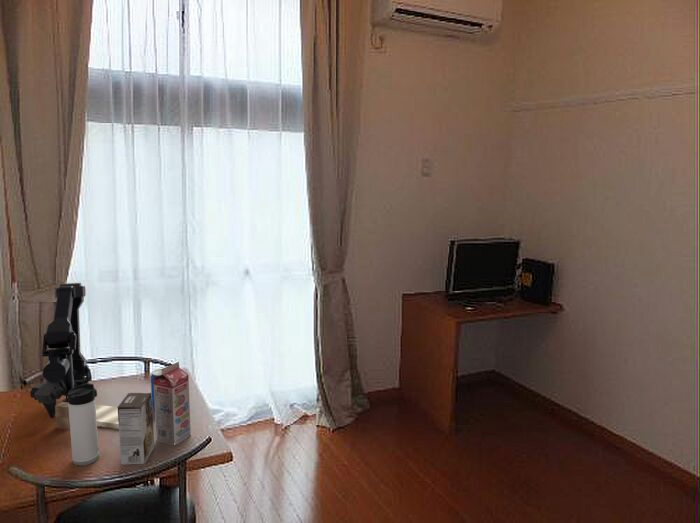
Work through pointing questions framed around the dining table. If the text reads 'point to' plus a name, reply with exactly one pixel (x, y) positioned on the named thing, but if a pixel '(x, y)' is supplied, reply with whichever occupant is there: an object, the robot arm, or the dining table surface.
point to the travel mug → (83, 424)
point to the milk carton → (172, 405)
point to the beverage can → (154, 374)
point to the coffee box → (136, 428)
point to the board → (107, 416)
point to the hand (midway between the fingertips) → (65, 419)
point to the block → (62, 416)
